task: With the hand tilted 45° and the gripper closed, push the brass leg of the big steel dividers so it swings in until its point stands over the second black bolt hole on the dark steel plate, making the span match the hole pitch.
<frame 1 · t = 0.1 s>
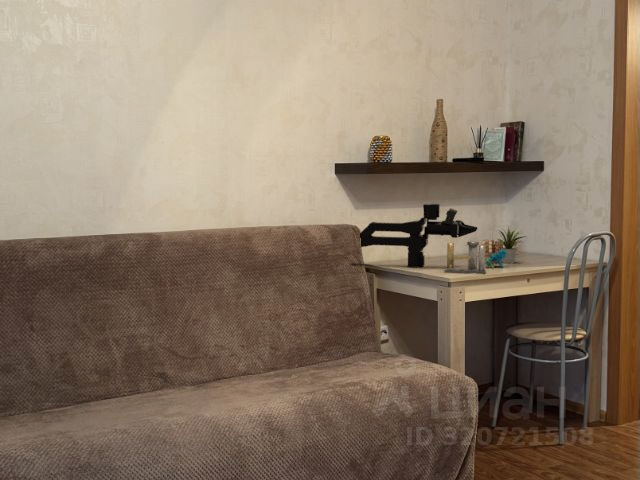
hand: (476, 229, 326), 17 cm above the table, tool horizontal, fingers open, 9 cm apart
house plant: (507, 263, 348), on the table
swing leg: (458, 254, 321), point 7 cm above the table, hinge at -22.0°
dividers head: (472, 268, 327), on the table
bolt plate: (465, 272, 315), on the table
blue animal figurine: (495, 267, 333), on the table
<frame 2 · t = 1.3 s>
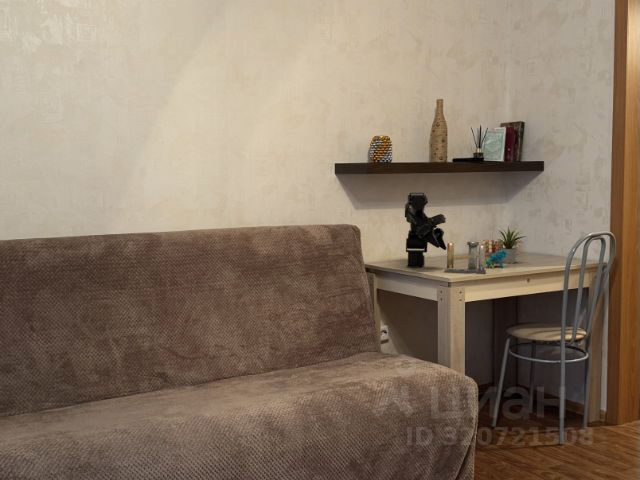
hand: (442, 248, 320), 9 cm above the table, tool tilted 40°, fingers open, 9 cm apart
nothing on the table moved.
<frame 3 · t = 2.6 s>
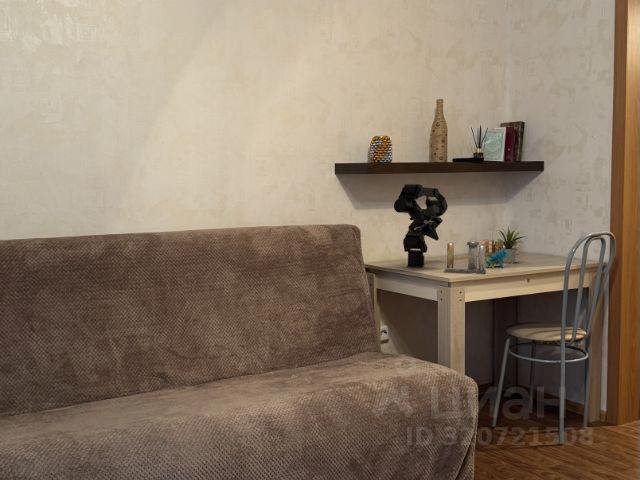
hand: (437, 239, 320), 13 cm above the table, tool tilted 45°, fingers closed
nothing on the table moved.
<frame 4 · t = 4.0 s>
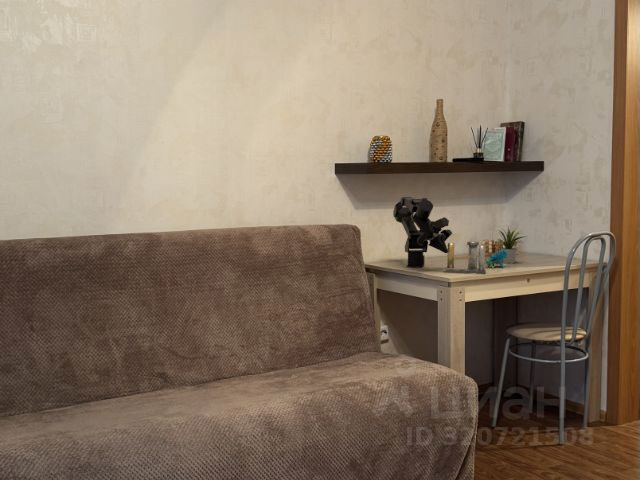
hand: (447, 252, 318), 8 cm above the table, tool tilted 45°, fingers closed
swing leg: (459, 254, 320), point 6 cm above the table, hinge at -21.4°, touching gripper
everything else where it was.
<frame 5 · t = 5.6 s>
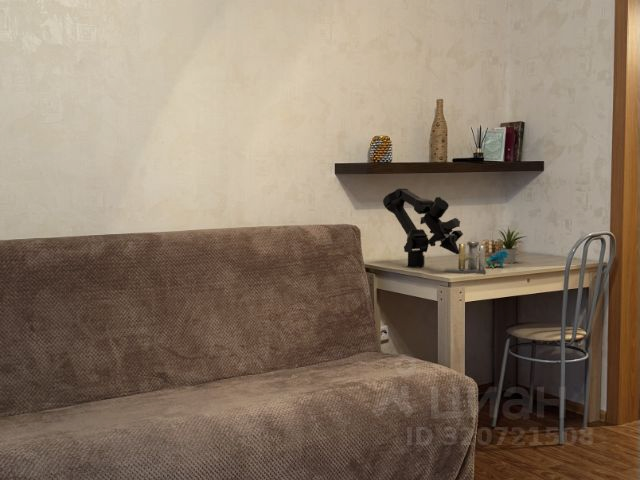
hand: (458, 253, 315), 8 cm above the table, tool tilted 45°, fingers closed, pressing on swing leg
swing leg: (466, 255, 318), point 6 cm above the table, hinge at -0.4°, touching gripper
everything else where it was.
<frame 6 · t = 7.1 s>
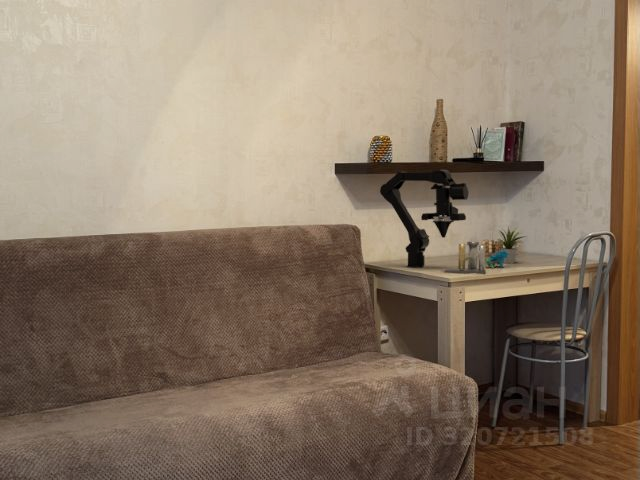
hand: (443, 237, 326), 13 cm above the table, tool pointing down, fingers closed
swing leg: (466, 255, 318), point 7 cm above the table, hinge at -0.4°
everything else where it was.
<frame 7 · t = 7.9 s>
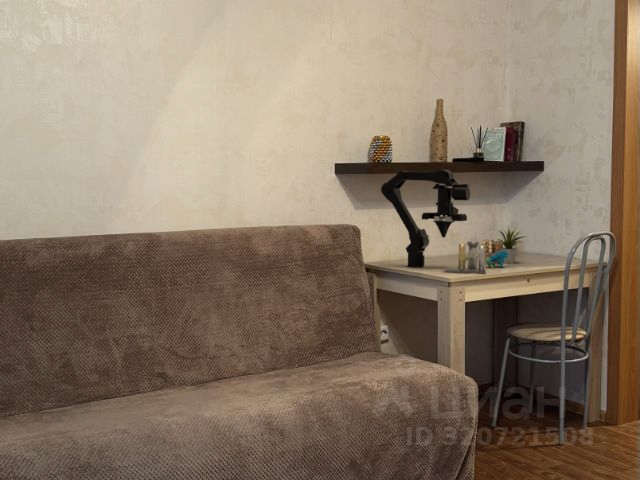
hand: (443, 237, 327), 13 cm above the table, tool pointing down, fingers closed
nothing on the table moved.
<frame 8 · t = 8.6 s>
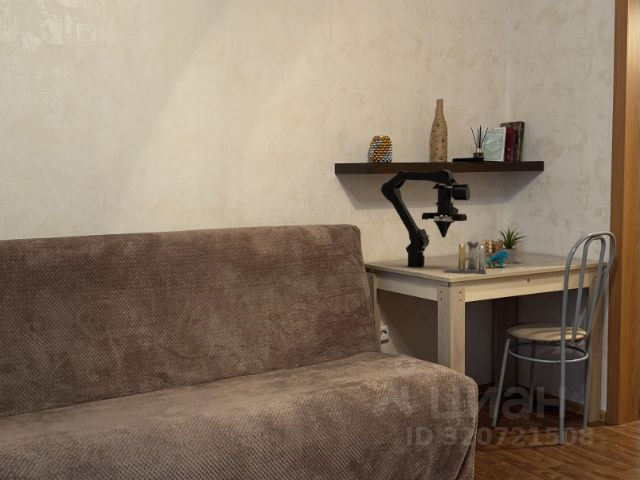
hand: (443, 237, 327), 13 cm above the table, tool pointing down, fingers closed
nothing on the table moved.
at the end: swing leg at +0° (first picture: -22°) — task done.
